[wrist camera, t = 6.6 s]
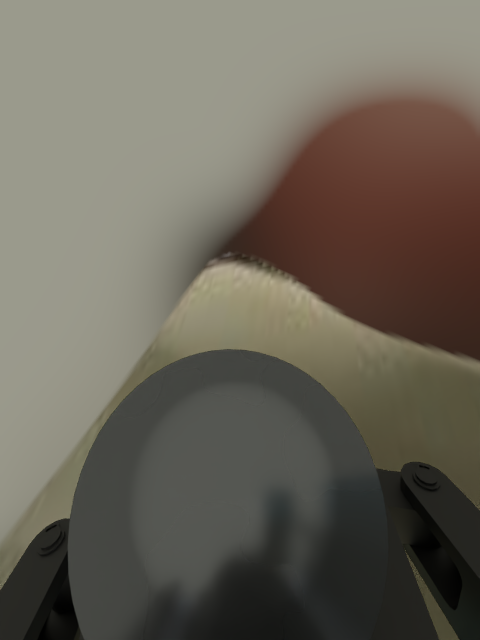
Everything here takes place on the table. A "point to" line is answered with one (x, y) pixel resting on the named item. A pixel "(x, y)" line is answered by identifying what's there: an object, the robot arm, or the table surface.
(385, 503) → the robot arm
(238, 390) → the pin
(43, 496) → the table surface
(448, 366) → the table surface
